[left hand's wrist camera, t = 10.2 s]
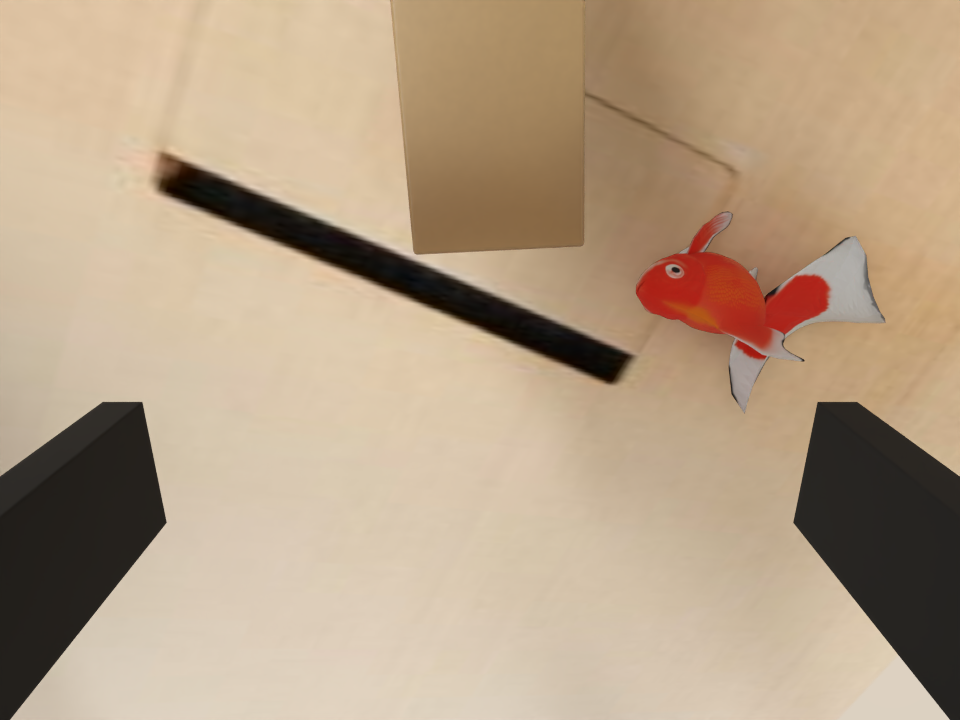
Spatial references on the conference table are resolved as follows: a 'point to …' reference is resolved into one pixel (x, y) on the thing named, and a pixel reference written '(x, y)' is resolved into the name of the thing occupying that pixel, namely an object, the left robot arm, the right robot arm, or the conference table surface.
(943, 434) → the conference table surface
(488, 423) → the conference table surface
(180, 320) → the conference table surface
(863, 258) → the fish
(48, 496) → the left robot arm
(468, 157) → the bar
